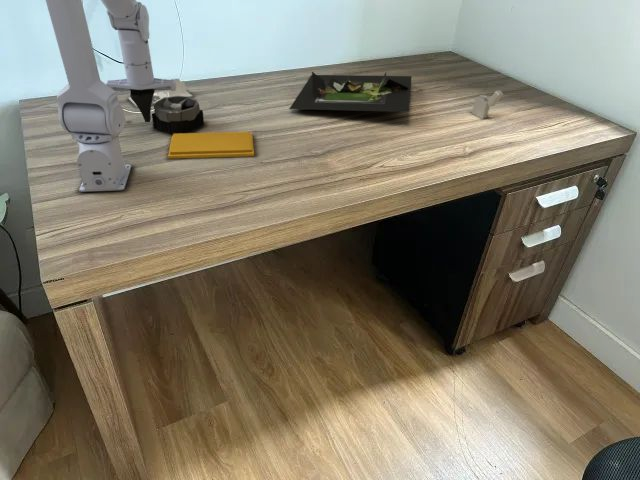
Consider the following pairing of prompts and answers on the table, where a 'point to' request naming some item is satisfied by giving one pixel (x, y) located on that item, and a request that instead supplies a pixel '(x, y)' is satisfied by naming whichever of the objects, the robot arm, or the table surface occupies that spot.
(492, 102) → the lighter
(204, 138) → the tray
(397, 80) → the black plate with food
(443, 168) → the table surface
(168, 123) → the cpu cooler
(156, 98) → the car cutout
